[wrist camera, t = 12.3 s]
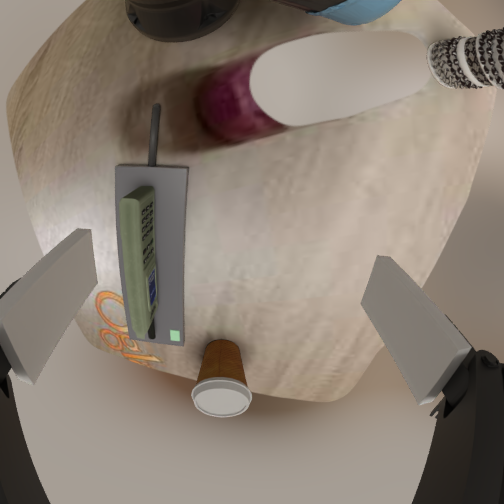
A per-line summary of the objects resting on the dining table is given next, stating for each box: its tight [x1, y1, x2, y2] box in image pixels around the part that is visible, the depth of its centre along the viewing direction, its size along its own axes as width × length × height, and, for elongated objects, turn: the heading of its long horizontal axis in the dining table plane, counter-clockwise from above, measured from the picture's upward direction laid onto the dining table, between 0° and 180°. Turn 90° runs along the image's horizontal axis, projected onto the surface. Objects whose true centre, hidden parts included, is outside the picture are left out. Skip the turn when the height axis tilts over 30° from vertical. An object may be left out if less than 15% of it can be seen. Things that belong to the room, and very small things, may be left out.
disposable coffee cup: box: [191, 340, 252, 417], centre depth 44 cm, size 10×10×12 cm
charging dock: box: [115, 104, 189, 346], centre depth 39 cm, size 38×10×2 cm, turn 173°
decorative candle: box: [427, 27, 504, 89], centre depth 18 cm, size 9×9×25 cm
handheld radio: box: [119, 186, 158, 339], centre depth 37 cm, size 7×3×25 cm
